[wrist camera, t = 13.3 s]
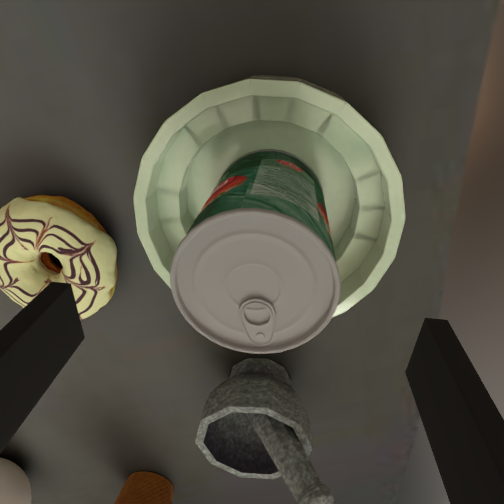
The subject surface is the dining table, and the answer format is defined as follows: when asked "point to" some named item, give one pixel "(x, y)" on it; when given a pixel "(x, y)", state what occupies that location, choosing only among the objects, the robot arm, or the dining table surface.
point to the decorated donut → (55, 251)
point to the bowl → (279, 138)
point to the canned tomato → (259, 257)
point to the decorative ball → (13, 484)
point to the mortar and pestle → (261, 430)
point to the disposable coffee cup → (146, 489)
